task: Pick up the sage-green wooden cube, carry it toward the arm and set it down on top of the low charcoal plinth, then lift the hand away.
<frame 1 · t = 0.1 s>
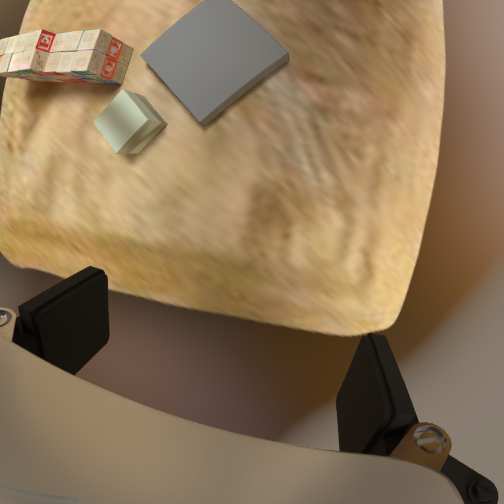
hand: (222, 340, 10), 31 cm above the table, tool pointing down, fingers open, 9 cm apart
stack of blocks: (79, 65, 38), on the table
plinth: (214, 57, 36), on the table
sage cube: (141, 124, 40), on the table
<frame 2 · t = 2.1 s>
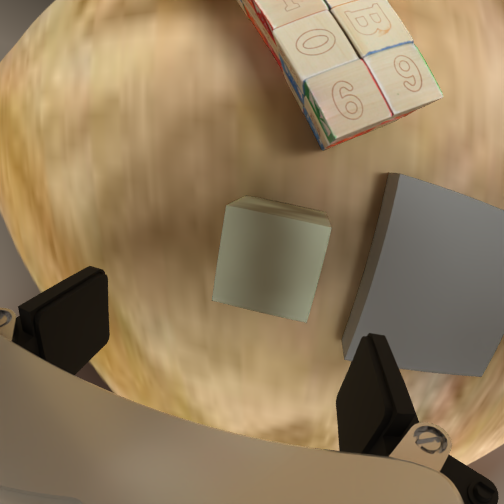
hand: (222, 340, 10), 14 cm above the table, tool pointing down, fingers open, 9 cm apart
stack of blocks: (294, 20, 19), on the table
plinth: (442, 280, 22), on the table
sage cube: (278, 241, 24), on the table
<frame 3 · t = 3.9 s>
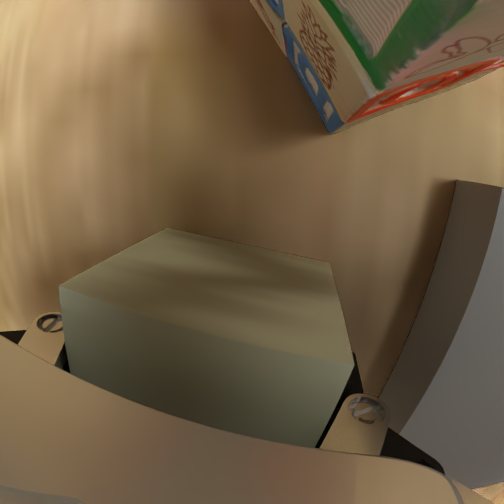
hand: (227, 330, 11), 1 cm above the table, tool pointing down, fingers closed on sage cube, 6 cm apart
sage cube: (232, 318, 12), on the table, touching gripper
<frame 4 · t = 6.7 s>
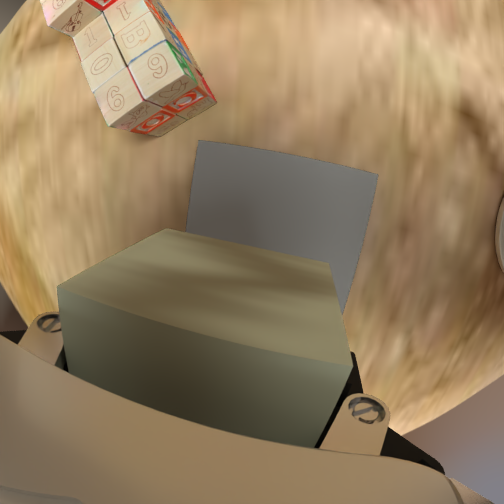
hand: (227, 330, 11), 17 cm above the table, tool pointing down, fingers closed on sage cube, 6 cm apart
stack of blocks: (147, 37, 24), on the table
plinth: (274, 235, 27), on the table
sage cube: (231, 319, 12), point 16 cm above the table, touching gripper
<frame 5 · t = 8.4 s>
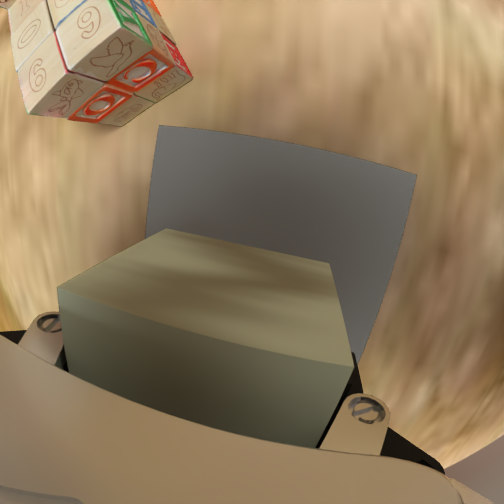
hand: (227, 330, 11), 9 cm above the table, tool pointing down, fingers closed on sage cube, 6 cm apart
stack of blocks: (114, 7, 17), on the table
plinth: (267, 256, 20), on the table
sage cube: (232, 319, 12), point 8 cm above the table, touching gripper
when the fingers open (5 cm above the table, at t = 9.7 s): sage cube drops 1 cm, resting on plinth.
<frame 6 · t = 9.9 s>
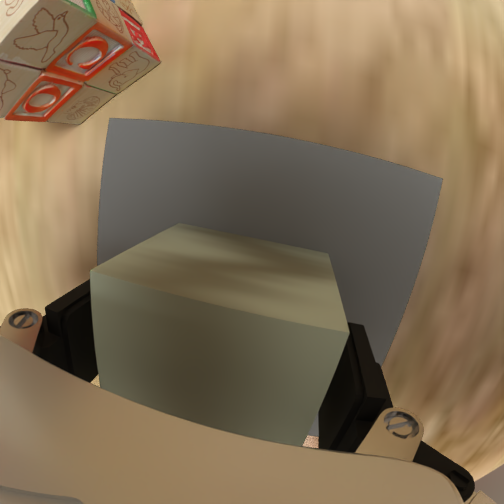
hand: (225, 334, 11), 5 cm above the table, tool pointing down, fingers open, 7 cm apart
plinth: (249, 280, 16), on the table
sage cube: (239, 306, 13), point 3 cm above the table, touching plinth
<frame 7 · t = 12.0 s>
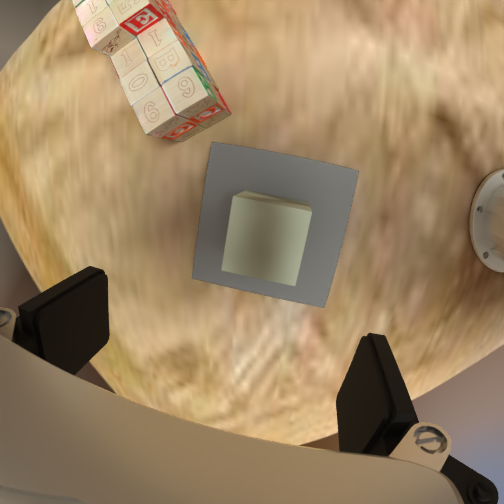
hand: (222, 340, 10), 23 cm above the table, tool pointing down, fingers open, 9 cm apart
stack of blocks: (169, 54, 29), on the table
plinth: (273, 221, 32), on the table
sage cube: (271, 227, 30), point 3 cm above the table, touching plinth
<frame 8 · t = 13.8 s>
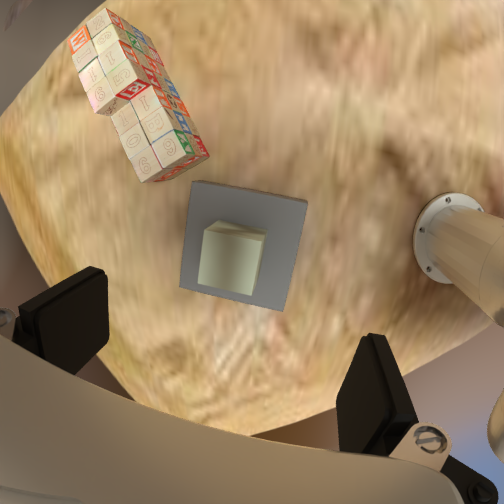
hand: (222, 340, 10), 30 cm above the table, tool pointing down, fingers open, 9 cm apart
stack of blocks: (159, 103, 38), on the table
plinth: (242, 242, 41), on the table
sage cube: (239, 248, 38), point 3 cm above the table, touching plinth
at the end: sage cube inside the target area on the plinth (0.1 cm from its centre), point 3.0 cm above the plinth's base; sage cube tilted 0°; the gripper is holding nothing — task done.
